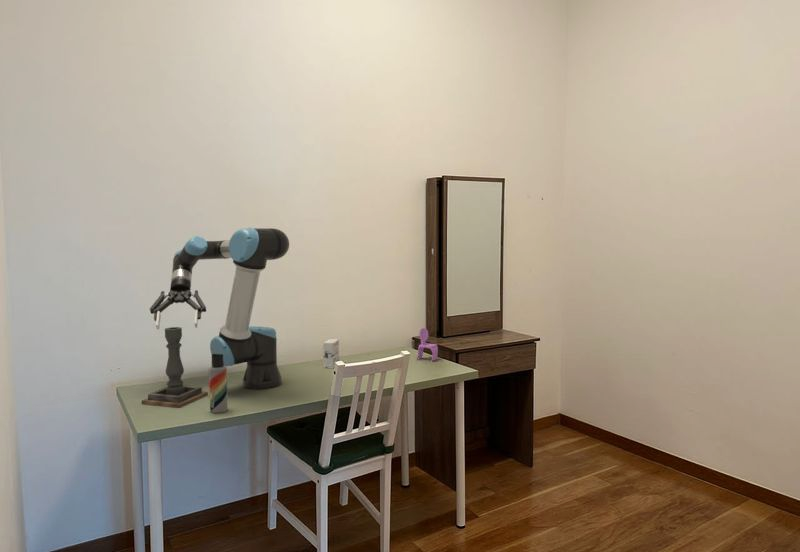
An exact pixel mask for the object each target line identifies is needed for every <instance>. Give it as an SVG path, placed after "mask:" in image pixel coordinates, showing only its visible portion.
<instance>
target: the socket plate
mask: <svg viewBox="0 0 800 552" xmlns="http://www.w3.org/2000/svg"><path fill="white" fill-rule="evenodd" d="M167 387H168V386H165V387H163V388H161V389H158V390H156V391H154V392H149V393H147V398H144V399H142V400H141V405H146V404H151V405H150V406H156V405H159V406H158V407H166V406H167V408H178V409H180V408H183V407H185V406H187V405H189V404H191V403H193V402H195V401H197V400H198V401H199V400H200V399H203V398H204V397H207V396H208V395H209V392H208V391H203V389H202V386H201V387H200V386H191V385H189V386H188V385H184V388H185V393H183V394H181V395H179V396H175V395H166V388H167Z"/></svg>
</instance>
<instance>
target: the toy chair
mask: <svg viewBox="0 0 800 552" xmlns="http://www.w3.org/2000/svg"><path fill="white" fill-rule="evenodd" d="M418 336H419V338H420V344H419V345H418V348H417V352H418V353H417V356H416V359H418V358H420V357H422V356H423V357H424V350H425V348H426V349H430V350H431V353H432V355H431V356H432V358H431V360H430V362H431V361H433V360H435V359H437V360H438V354H439V346H438V344H437V343H428V342H427V339H428V338H429V331H428V329H427V328H424V327H423V328H422V327H421V328H420V330H419V333H418ZM416 359H415V360H416ZM418 360H419V359H418ZM435 361H436V360H435ZM433 362H434V361H433Z"/></svg>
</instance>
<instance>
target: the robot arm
mask: <svg viewBox="0 0 800 552" xmlns="http://www.w3.org/2000/svg"><path fill="white" fill-rule="evenodd" d="M289 248H290V240H289V238H288V235H286V233H285V232H283V231H282V230H281V229H278V228H252V227H247V228H240V229H237V230H236V231H235V232H234V233H233V234H232V235H231V237H230V239H224V240H206V239H205V238H203V237H200V236H199V235H193V236H191V237H190V238H189V239H188V241H187V242H185V244H184V246H183V248H182V249H180V250H178V251H176V252H175V253H174V254H173V255H174V257H173V260H172V270H171V271H172V272H171V277H170V278H171V279H170V280H171V281H170V289H169V292H166V291H164V290H162V291H161V292H160V294H159V296H158V298H157V299H155V301H154V302H153V304H152V305H151V306H150V307H149V312H150V314H152V315H153V314H154V315H153V320H154V321H155V326H156V329H157V330H160V324H161V316H162V315H161V313H162V312H163V311H164V310H166V309H168V307H170V306H172V305H173V304H174V303H175V304H179V303H180V304H184V303H186V304H187V305H189V306H190V307H191V308H192V309H194V310H195V312H194V327H195V328H198V324H199V323H198V322H199V320H201V319H202V313H206V312H207V307H206V305H205V303H204V301H203V300H202V298H201V296H200V295H199V290H197V289H196V290H195V291H192V290H191V287H192V276H193V268H194V267H195V265H196V264H197V262H199V260H221V259H222V260H225V259H227V260H228V259H232V263H233V264H234V266H235V273H234V278H233V283H232V288H231V293H230V299H229V303H228V308H227V314H226V318H225V324H224V325H223V326H221V327H220V328H219V331H218V332H219V334H218V336H214V337H213V338H212V339H211V340H210V343H209V349H210V355H212V354H223V361H224V366H226V367H233V366H235V365H239V364H240V365H241V364H244V363H246V368H245V372H244V375H243V378H242V386H243V387H244V388H247V389H253V390H254V389H255V390H259V389H261V390H262V389H269V388H271V389H272V388H275V387H277V386H280V385H281V384H282V381H283V380H282V374H281V372H280V369H279V367H278V357H277V340H278V338H277V331H276V329H275V328H273V327H268V326H267V327H266V326H250V323H251V317H252V314H253V310H254V309H253V308H254V303H255V298H256V293H257V289H258V284H259V278H260V275H261V271H263V270H265V269H266V266H267V261H273V260H278V259H280V258H283V257H284V256H285V255H286V254H287V252H288V251H289ZM191 291H192V292H191ZM191 297H193V298H194V299H195V300H196V302H197V303H196V302H195V301H194V300H193V299H191ZM164 300H165V301H164Z"/></svg>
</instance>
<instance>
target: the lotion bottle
mask: <svg viewBox="0 0 800 552" xmlns="http://www.w3.org/2000/svg"><path fill="white" fill-rule="evenodd" d="M227 370H228V369H227V366H224V361H223V354H211V366H210V367H209V368H208V377H209V378H208V380H209V382H208V383H209V409H210V413H213V414H223V413H225V412H227V411H228V408H229V407H228V373H227V372H228V371H227Z"/></svg>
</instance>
